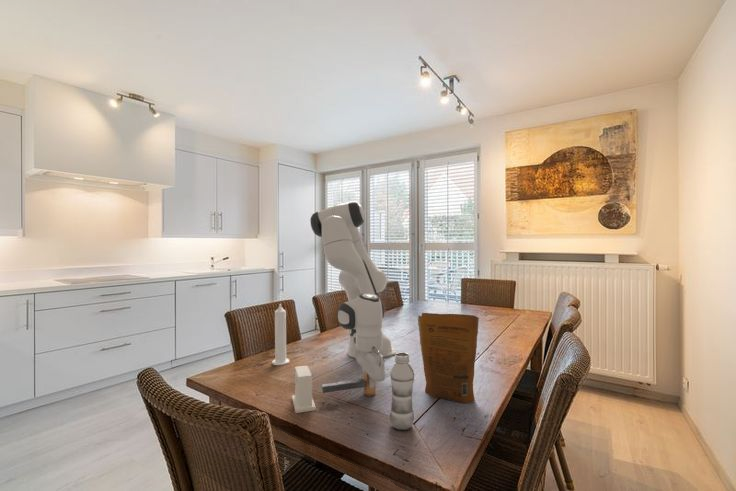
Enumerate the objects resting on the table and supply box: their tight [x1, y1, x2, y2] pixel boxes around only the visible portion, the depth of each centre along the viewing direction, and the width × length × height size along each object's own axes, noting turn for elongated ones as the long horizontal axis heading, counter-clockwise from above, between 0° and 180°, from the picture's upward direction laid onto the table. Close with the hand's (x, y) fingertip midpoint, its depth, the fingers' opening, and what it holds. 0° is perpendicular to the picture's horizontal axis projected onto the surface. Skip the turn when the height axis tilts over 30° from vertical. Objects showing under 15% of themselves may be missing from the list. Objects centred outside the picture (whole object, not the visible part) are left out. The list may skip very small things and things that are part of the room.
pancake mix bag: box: [417, 312, 480, 404], centre depth 113 cm, size 7×19×28 cm, turn 63°
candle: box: [271, 303, 290, 366], centre depth 145 cm, size 7×7×25 cm
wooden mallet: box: [321, 370, 376, 397], centre depth 114 cm, size 18×3×8 cm, turn 108°
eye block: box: [291, 364, 317, 414], centre depth 109 cm, size 6×10×10 cm, turn 18°
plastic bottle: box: [389, 352, 415, 431], centre depth 95 cm, size 6×7×20 cm
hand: (369, 384), depth 116 cm, fingers closed on wooden mallet, 3 cm apart
